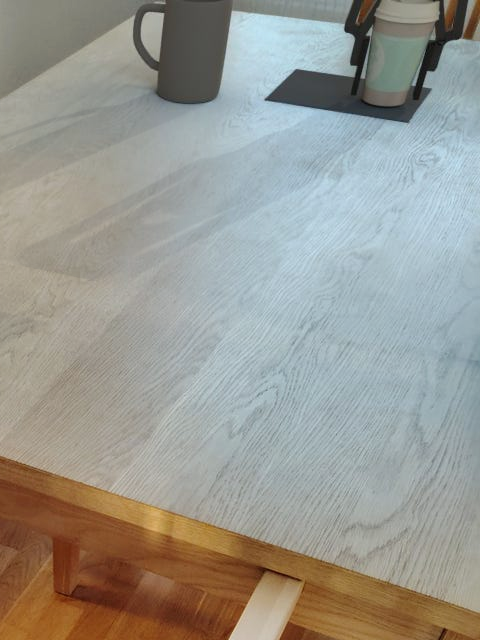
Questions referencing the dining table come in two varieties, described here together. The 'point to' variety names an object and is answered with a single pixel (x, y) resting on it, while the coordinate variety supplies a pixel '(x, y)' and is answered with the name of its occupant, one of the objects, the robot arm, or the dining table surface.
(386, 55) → the coffee cup
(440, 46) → the robot arm
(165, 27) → the mug
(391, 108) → the placemat
